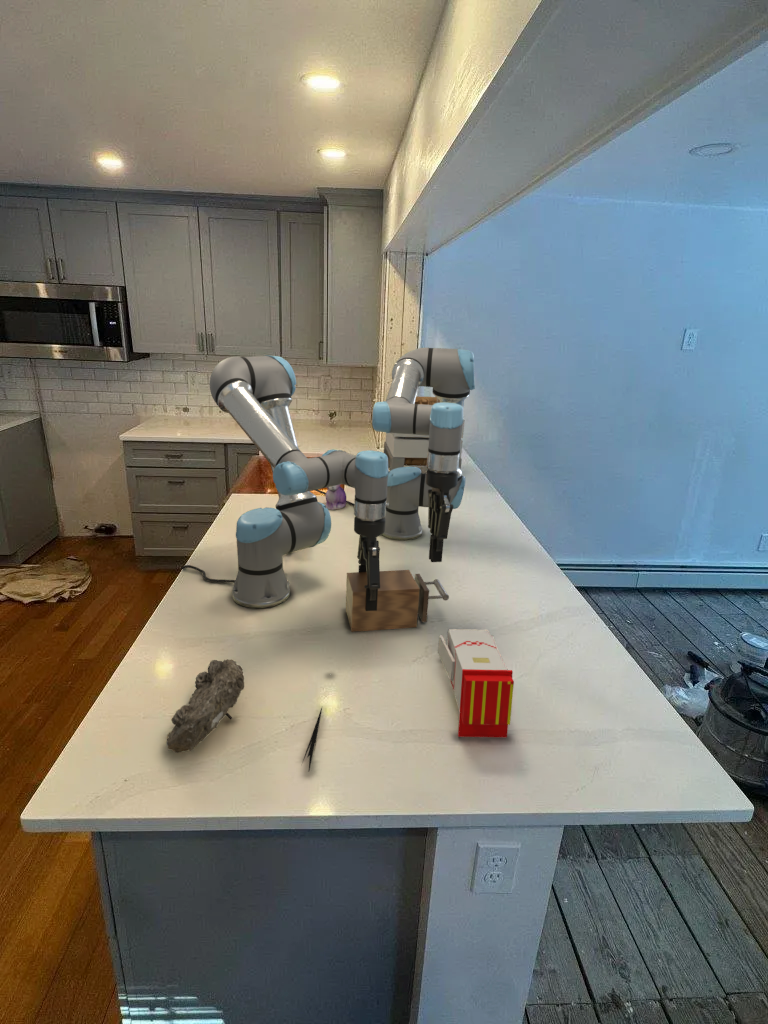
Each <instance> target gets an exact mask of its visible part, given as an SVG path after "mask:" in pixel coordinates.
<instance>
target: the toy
mask: <svg viewBox="0 0 768 1024" xmlns="http://www.w3.org/2000/svg"><path fill="white" fill-rule="evenodd" d="M446 640H447V643H446V641H445V639H444V636H443V635H442V634H439V637H438V646H437V656H438V657H439V659H440V661H441V663H442V666H443V668H444V670H445V672H446V674H447V677H448V679H449V681H450V684H451V687H452V690H453V693H454V697H455V701H456V705H457V708H458V711H459V714H458V715H459V716H458V730H457V731H458V732H457V737H458V738H508V731H509V726H510V725H511V717H512V707H513V697H514V696H513V695H514V684H515V680H514V679H513V673H514V671H513V670H512V669H508V667H507V665H506V662H505V661H504V659H503V658H502V655H501V653H500V651H499V649H498V647H497V643H496V639H495V637H494V635H493V634H491V632H490V631H489V629H467V628H466V629H465V628H463V629H461V628H460V629H459V628H448V630H447V639H446Z"/></svg>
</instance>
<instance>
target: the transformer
mask: <svg viewBox="0 0 768 1024" xmlns="http://www.w3.org/2000/svg"><path fill="white" fill-rule="evenodd" d="M435 403H437V398H436V397H435V396H417V395H416V399H415V403H414V404H424V405H433V404H435ZM464 429H465V419H464V420H463V425H462V436H461V445H460V456H461V459H460V460H459V467H458V468H459V469H460V470H461V471H462V461H463V460H462V453H463V442H464V441H463V440H462V439H463V438H464V431H465V430H464ZM428 447H429V435H416V434H401V433H386V432H385V438H384V442H383V453H385V454H386V455H387V457H388V468H389V472H390V471H391V470H393V469H396V468H400V467H405V466H406V467H417V466H418V467H427V454H428Z"/></svg>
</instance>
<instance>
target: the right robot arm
mask: <svg viewBox="0 0 768 1024" xmlns="http://www.w3.org/2000/svg"><path fill="white" fill-rule="evenodd" d="M475 373H476V372H475V354H474V353H473V351H472V350H468V349H461V348H448V347H447V348H441V347H425V346H424V347H418V348H415V349H413V350H410V351H408V352H406V353H404V354H403V355H402V356H400V357H399V358H398V359H397V360H396V362H395V363H394V365H393V367H392V370H391V379H392V381H391V384H390V386H389V389H388V392H387V396H386V399H385V400H383V401H376V402H375V403H374V404H373V408H372V415H371V416H372V419H371V421H372V422H371V423H372V428H373V430H374V431H375V432H377V433H378V432H379V433H385V434H386V433H401V434H416V435H429V447H428V454H427V466H426V468H427V470H426V472H422V469H421V468H420V467H419V466H418V467H417V466H404V467H400V468H396V469H393V470H391V471H390V470H389V473H388V481H387V500H386V503H388V504H389V505H388V507H386V516H385V518H386V525H385V532H384V533H383V534H382V535H381V536H382V537H385V538H387V539H389V540H395V541H410V540H415V539H418V538H420V537H421V536H422V535H423V525H422V524H421V518H420V515H419V508H420V507H421V508H422V507H423V508H428V510H427V512H428V516H427V518H428V519H427V520H428V521H427V528H428V529H429V533H430V535H429V536H430V537H429V550H428V560H430V563H442V562H443V552H444V551H443V550H444V540H447V539H448V536H449V530H450V523H451V518H452V514H453V513H452V512H453V510H456V509H458V508H460V506H461V504H462V502H463V501H462V500H463V496H464V493H465V492H464V491H465V486H466V477H465V476H464V475H463V472H462V469H461V470H460V469H459V468H458V467H459V460H460V459H461V458H462V455H461V456H460V445H461V440H462V438H461V436H462V425H463V420H465V419H464V417H465V416H464V408H465V407H464V406H465V400H466V399H467V398H468V397H469V396H470V394H471V391H473V390H475V389H476V375H475ZM419 387H426V388H432V391H431V392H432V395H433V396H434V397H436V398H437V403H435V404H433V405H424V404H414V403H415V399H416V397H417V394H418V389H419ZM314 491H315V492H317V493H319V494H323V495H324V496H326V492H324V491H323V490H321V489H317V490H314ZM346 504H348V505H351V506H353V507H354V503H353V502H351V501H349V500H346Z"/></svg>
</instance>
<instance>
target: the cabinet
mask: <svg viewBox="0 0 768 1024" xmlns="http://www.w3.org/2000/svg"><path fill="white" fill-rule="evenodd" d="M365 585H367V572H359V571H356V572H346V585H345V586H346V588H345V613H346V616H347V620H348V623H349V627H350V631H351V633H353V632H370V631H381V630H382V631H384V630H397V629H398V630H399V629H413V628H417V627H418V617H419V615H418V602H419V587H418V585H417V583H416V581H415V577H414V576H413V574H412V572H411V571H410V569H398V570H397V569H396V570H380V589H378V596H377V611H366V610H365V606H366V588H365V587H364V586H365Z"/></svg>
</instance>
